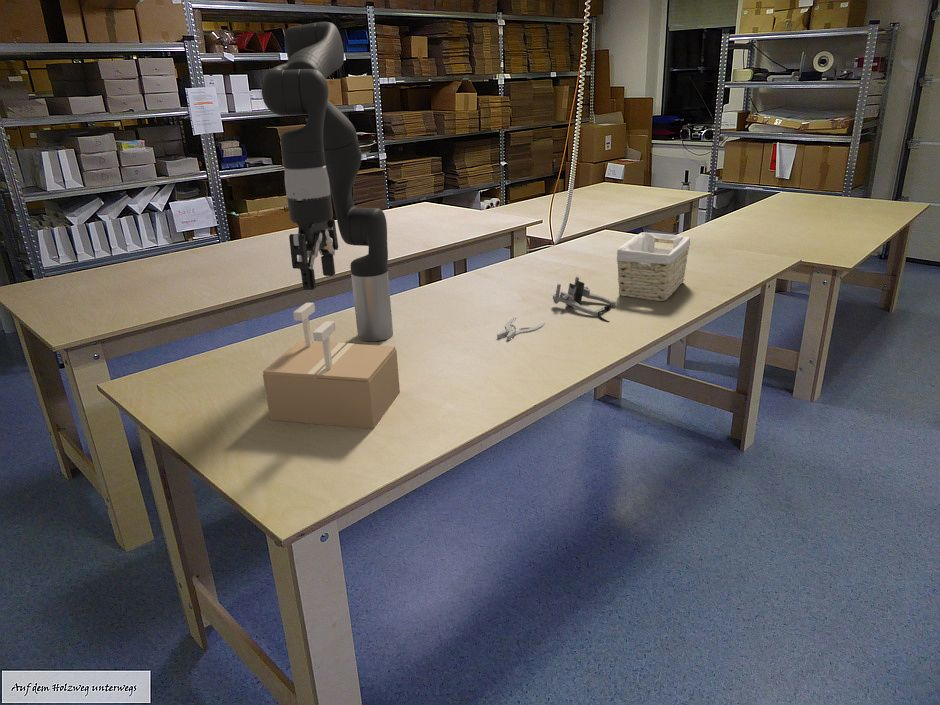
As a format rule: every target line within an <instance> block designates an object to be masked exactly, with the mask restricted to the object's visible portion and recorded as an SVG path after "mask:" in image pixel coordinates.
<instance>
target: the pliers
mask: <svg viewBox="0 0 940 705" xmlns="http://www.w3.org/2000/svg"><path fill="white" fill-rule="evenodd" d="M514 319H515V320H516V319H517V318H516V317H513V318H510V319H508V321H506V323H505V327H504V328H505V330H502V331H500V332H499V333H497V334H496V338H497V339H498V338H500V339H503V338H505V337H506V341H507V340H509V341H511V340H512V339H513V338H515V336H517V335H519V334H525V333H526V334H527V333H531V332H534V330H535V331H537V330H539V329H541V328H543V327H544V326H545V325H546V322H541V323H540V324H538V325H536V326H535V325H534V326H531V327H530V326H526V327H520V328H519V330H516V329H517V327H516V325H515V324H514V323H513V322H514V321H515V320H514ZM513 320H514V321H513ZM512 321H513V322H512ZM544 324H545V325H544ZM510 325H512V326H510ZM543 325H544V326H543ZM513 326H514V327H515V328H514V327H513ZM542 326H543V327H542ZM504 336H505V337H504ZM502 337H503V338H502ZM511 338H512V339H511ZM510 339H511V340H510Z"/></svg>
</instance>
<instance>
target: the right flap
mask: <svg viewBox="0 0 940 705" xmlns="http://www.w3.org/2000/svg"><path fill="white" fill-rule="evenodd" d="M336 329H337V328H336V321H332V320H331V321H329V320H326V321H324V322H323V323H322V324H321V325H320V326H318V327H317V328H316V329H315V330H314V331H313V332H312V336H313V342H322V343H323V351H324V359H325V366H324V367H323V368H322V369H321V370H320V371H319V372H318V373H317V374H316V375H315V376H316V378H327V379H341V380H355V381H369V380H370V379H371V378H372V377H373V375H374V374H375V373H376V372H377V371H378V369H379V368H380V367H381V366H382V365H383V363H384V362H385V361H386V360H387V359H388V357H389V356H390V355H391V354H392V353H393V351H394V350H395V349H396V346H393V345H378V344H363V343H362V344H361V343H360V344H358V343H354V342H353V343H349V342H347V343H346V345H345V346H344V347H343V348H342V349H341V350H340V351H339V352H338V353H337V354H336V355H335V356H334V357H333V358H331V350H330V343H331V342H330V336H331V335H332V334H333V333H334V332H336Z"/></svg>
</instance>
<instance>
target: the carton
mask: <svg viewBox="0 0 940 705" xmlns="http://www.w3.org/2000/svg"><path fill="white" fill-rule="evenodd" d="M315 312H316V306H315V302H305V303H304V304H302V305H301V306H299V307H298V308H297V309H295V310H294V311H293V312H292V314H293V319H294V321H295V322H296V321H297V322H298V321H300V322H302V330H303V333H304V334H303V335H304V340H298V341H297V342H296V343H295V344H294V345H293V346H291V347H290V348H289V349H288V350H286V352H284V353H283V354H282V355H280V356H279V357H278V358H277V359H275V360H274V361H273V362H272V363H271V364H269V366H267V367H266V368H265V369H263V371H262V377H263V378H262V379H263V384H264V391H265V396H266V401H267V407H268V414H269V419H270V420H272V421H281V422H292V423H293V422H294V423H302V424H313V425H314V424H316V425H327V426H336V427H337V426H339V427H349V428H359V429H360V428H362V429H372V430H373V429H375V428H376V426H377V425H378V423H379V422H380V421H381V419H382V418H383V417H384V415H385V414H386V413H387V411H388V410H389V408H390V407H391V405H392V404H393V403H394V401H395V400H396V399H397V397H398V396H399V394H400V392H401V388H400V379H399V376H400V375H399V366H398V365H399V364H398V353H397V352H398V351H397V349H396V348H395V350H394V351H393V353H392V354H391V355H390V356H389V357H388V359H387V360H386V361H385V362H384V363H383V365H382V366H381V367H380V368H379V369H378V371H377V372H376V373H375V374H374V375H373V377H372V378H371V379H370V380H369V381H355V380H341V379H327V378H316V376H315V375H316V374H317V373H318V372H319V371H320V370H321V369H322V368H323V367H324V366H325V359H324V351H323V343H322V342H319V341H312V340H313V339H312V333H311V332H312V331H311V325H310V324H311V323H310V318H309V317H310V316H311V315H312V314H313V313H315ZM346 344H347V343H346V342H330V350H331V358H333V357H334V356H335V355H336V354H337V353H338V352H339V351H340V350H341V349H342V348H343V347H344V346H345V345H346Z"/></svg>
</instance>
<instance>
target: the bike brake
mask: <svg viewBox="0 0 940 705" xmlns="http://www.w3.org/2000/svg"><path fill="white" fill-rule="evenodd" d="M568 284H569V285H568V291H567V292H564V291H561V286H562V285H561V283H557V286H556V290H555V294H553V295H552V300H553V303H554V304H556V305H558V304H559V302H560V303H564V304H565V306H568V307H571V308H574V309H576V310H577V311H580V312H581V313H585V314H587V315H591V316H593V317H598V318H599V319H600V320H602V321H603V322H605V323H610V320H607V319H605V318H604V317H603V316H601V315H602V314H605V312H607V311H608V310H610V309H611V308H615V307H616V304H617V301H614V300H611V299H609V298H607V297H604V296H601V295H598V294H595V293H592V292H591V289H589V286H585V282H582V281H580V277H579V276H575V279H574V283H571V282H569V283H568ZM582 297H584V298H587V299H591V300H595V301H599V302H603V303H605V304H607V305H605V306H604V307H601V308H599V309H596V310H592V309H591V308H587V307H585V306H582V305H581V304H582V299H583V298H582Z"/></svg>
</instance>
